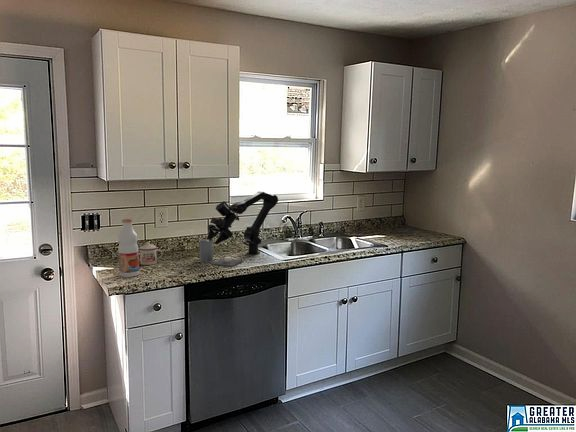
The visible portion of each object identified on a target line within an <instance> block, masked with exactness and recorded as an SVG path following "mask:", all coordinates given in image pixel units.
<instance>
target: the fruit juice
mask: <svg viewBox="0 0 576 432" xmlns="http://www.w3.org/2000/svg"><path fill="white" fill-rule="evenodd" d="M133 222H134V221H133V219H131V218H125V219H124V218H123V219H122V220H121V224H122V227H121V231H120V232H119V234H118V236H117V237H118V238H117V239H118V244H119V245H118V249H117V250H118V251H117V252H118V268H119V277H121V278H134V277H133V276H135V277H137V275H138V276H139V275H140V262H139V261H140V259H139V258H140V249H139V245H138V234H137V232H136V231H135V229H134V227H133Z"/></svg>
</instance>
